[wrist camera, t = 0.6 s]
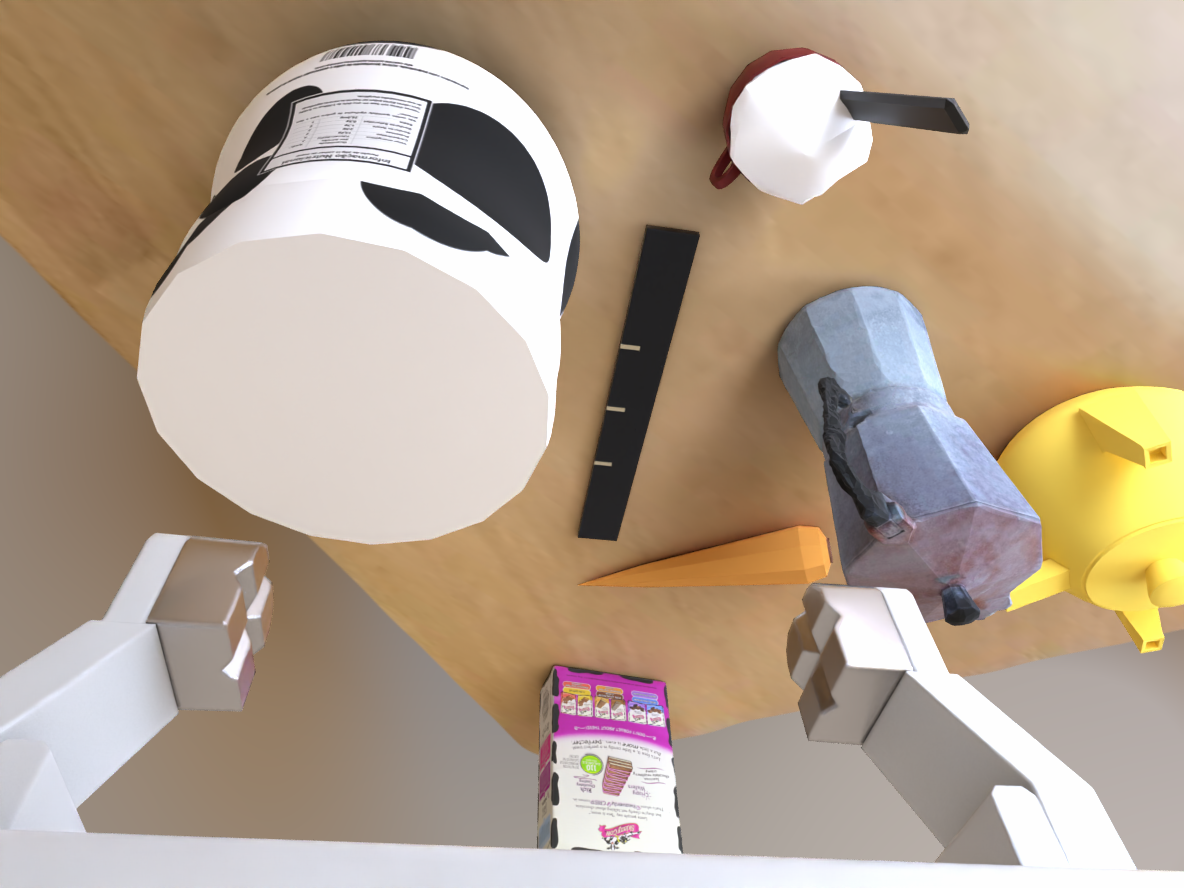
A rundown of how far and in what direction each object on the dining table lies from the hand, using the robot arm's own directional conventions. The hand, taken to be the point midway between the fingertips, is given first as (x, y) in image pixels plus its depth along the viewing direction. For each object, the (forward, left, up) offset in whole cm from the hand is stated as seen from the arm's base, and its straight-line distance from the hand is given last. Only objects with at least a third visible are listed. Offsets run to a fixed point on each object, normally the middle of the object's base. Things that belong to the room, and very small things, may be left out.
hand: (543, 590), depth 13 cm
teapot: (+24, +41, -34) cm, 58 cm away
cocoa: (+3, +12, -34) cm, 36 cm away
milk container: (+11, -6, -34) cm, 37 cm away
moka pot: (+17, +20, -34) cm, 43 cm away
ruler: (+24, +8, -34) cm, 42 cm away
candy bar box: (+58, +12, -34) cm, 69 cm away
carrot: (+38, +16, -34) cm, 54 cm away
